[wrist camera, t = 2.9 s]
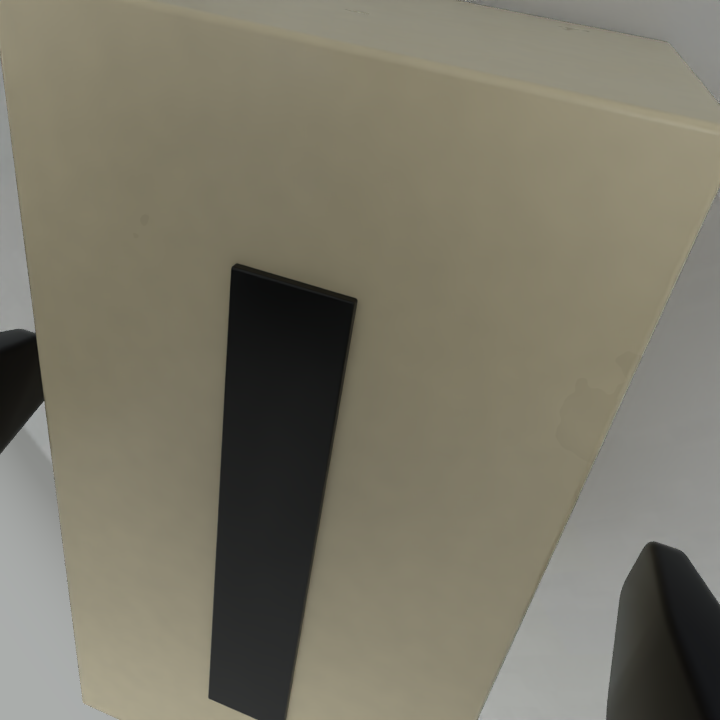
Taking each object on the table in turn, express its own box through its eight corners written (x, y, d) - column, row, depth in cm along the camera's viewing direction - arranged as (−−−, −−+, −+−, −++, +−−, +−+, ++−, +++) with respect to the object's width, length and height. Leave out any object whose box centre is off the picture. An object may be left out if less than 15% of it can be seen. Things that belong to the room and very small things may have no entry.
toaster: (260, 459, 17) (77, 709, 11) (307, -30, 11) (-25, -36, 5) (487, 540, 16) (414, 863, 10) (671, 42, 10) (751, 133, 4)
